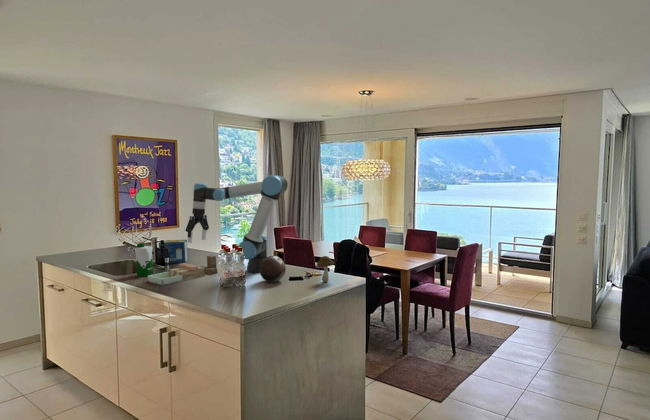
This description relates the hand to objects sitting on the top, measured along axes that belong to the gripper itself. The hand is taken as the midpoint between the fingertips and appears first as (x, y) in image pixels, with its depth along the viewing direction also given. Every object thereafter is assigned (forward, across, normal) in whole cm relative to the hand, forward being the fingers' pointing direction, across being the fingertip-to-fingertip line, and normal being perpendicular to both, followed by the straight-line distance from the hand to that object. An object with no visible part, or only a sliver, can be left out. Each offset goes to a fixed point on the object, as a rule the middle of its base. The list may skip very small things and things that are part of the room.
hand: (196, 241), depth 264 cm
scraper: (+20, -6, +7) cm, 22 cm away
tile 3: (+16, +6, -4) cm, 18 cm away
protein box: (+25, -27, -38) cm, 53 cm away
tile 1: (+15, +10, +6) cm, 19 cm away
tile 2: (+16, +8, +1) cm, 18 cm away
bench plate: (+21, +9, +1) cm, 23 cm away
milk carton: (+24, +14, -27) cm, 39 cm away
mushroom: (+11, -4, +88) cm, 88 cm away
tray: (+22, +23, -3) cm, 31 cm away
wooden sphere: (+15, +5, +58) cm, 60 cm away
